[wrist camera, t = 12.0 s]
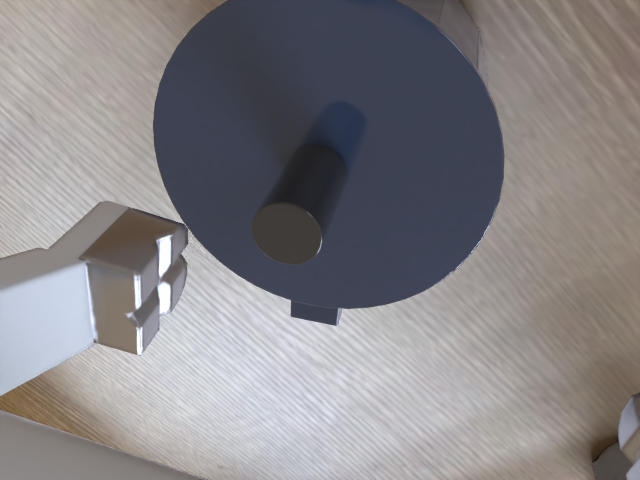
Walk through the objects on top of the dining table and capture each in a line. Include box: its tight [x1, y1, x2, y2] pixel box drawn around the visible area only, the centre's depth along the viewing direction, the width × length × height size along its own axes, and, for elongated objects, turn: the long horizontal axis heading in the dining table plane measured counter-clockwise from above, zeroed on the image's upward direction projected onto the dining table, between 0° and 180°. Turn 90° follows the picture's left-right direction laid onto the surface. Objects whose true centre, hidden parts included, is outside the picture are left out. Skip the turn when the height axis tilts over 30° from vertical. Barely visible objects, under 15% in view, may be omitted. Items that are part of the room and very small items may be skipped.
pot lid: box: [153, 0, 504, 309], centre depth 21 cm, size 14×14×6 cm
